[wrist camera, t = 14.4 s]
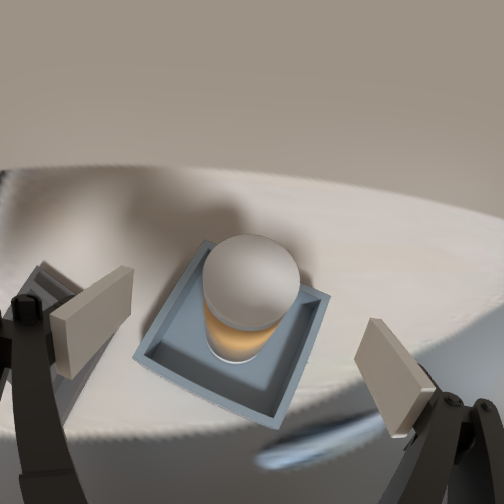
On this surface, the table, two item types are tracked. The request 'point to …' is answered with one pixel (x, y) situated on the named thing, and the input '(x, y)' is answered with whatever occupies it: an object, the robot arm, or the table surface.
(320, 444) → the table surface
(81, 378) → the block
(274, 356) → the parts tray
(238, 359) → the ball
